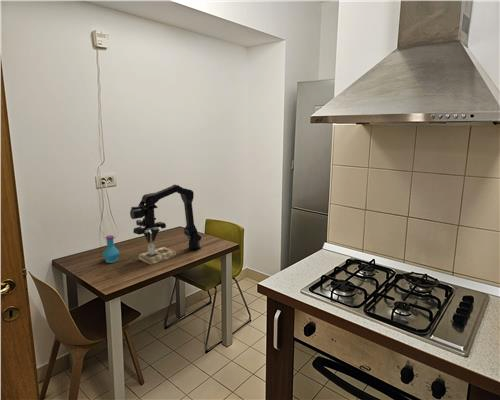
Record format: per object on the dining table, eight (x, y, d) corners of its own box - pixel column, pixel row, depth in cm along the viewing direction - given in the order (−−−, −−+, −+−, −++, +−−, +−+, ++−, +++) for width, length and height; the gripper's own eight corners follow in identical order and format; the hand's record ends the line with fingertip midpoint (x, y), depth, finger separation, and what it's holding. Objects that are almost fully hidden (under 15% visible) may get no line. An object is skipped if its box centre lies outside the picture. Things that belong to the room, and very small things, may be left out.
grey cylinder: (153, 257, 208) (152, 243, 206) (157, 259, 205) (156, 245, 203) (147, 259, 205) (146, 245, 203) (151, 261, 202) (150, 246, 200)
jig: (163, 251, 219) (163, 246, 218) (175, 255, 211) (175, 251, 210) (138, 259, 205) (138, 254, 204) (150, 264, 198) (150, 259, 197)
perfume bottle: (104, 264, 197) (101, 239, 194) (102, 259, 205) (100, 235, 202) (121, 261, 202) (119, 237, 198) (119, 256, 210) (117, 232, 206)
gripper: (154, 211, 211) (156, 235, 215) (127, 217, 197) (129, 243, 201) (165, 214, 205) (167, 239, 208) (138, 220, 190) (140, 247, 194)
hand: (150, 241), depth 203 cm, fingers open, 3 cm apart
